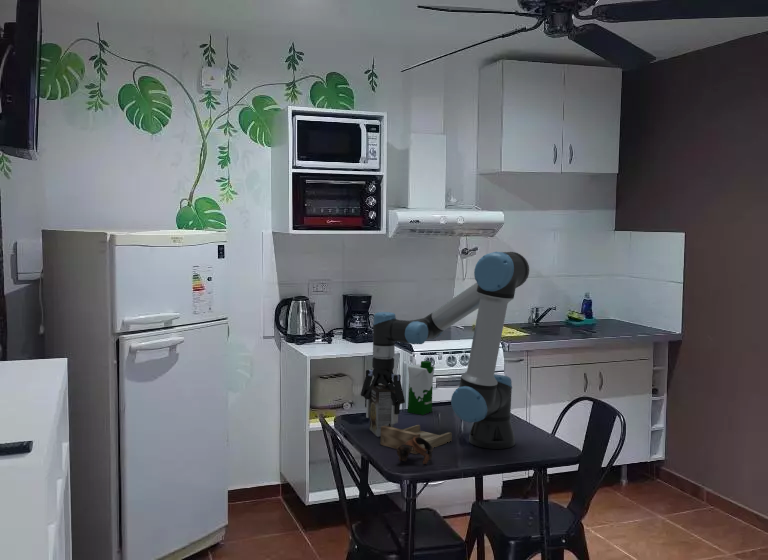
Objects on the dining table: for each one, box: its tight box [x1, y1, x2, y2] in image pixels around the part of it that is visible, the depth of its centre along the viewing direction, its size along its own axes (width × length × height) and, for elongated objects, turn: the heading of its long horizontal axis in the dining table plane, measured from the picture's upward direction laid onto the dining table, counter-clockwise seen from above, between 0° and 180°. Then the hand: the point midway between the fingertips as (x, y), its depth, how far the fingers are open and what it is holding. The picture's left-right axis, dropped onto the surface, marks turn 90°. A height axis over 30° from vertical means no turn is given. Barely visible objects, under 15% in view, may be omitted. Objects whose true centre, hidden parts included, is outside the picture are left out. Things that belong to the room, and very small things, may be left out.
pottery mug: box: [396, 437, 434, 465], centre depth 217 cm, size 12×10×8 cm
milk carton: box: [407, 360, 436, 416], centre depth 277 cm, size 9×9×20 cm
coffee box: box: [369, 384, 395, 438], centre depth 247 cm, size 9×6×16 cm
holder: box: [379, 424, 453, 455], centre depth 236 cm, size 15×20×6 cm
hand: (381, 420), depth 247 cm, fingers closed on coffee box, 11 cm apart
